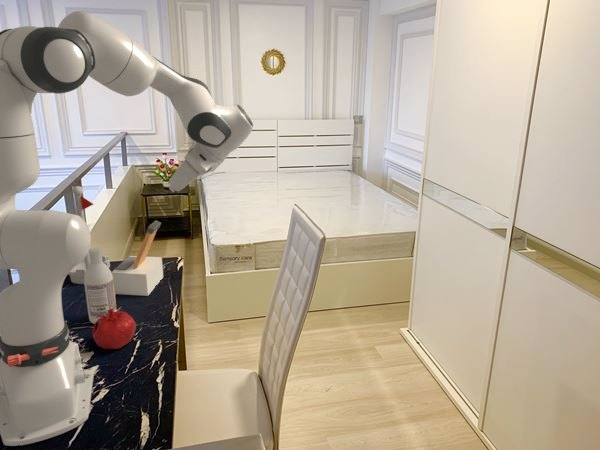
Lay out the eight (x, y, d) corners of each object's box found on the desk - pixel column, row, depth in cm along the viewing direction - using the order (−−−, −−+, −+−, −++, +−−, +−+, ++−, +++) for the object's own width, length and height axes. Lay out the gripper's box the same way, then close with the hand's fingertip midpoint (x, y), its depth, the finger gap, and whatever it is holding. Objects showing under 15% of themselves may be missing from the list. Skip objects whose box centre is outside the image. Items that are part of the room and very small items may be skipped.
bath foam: (120, 319, 122) (113, 250, 116) (93, 328, 118) (84, 256, 112) (112, 309, 127) (104, 242, 121) (86, 317, 123) (76, 248, 117)
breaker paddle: (145, 260, 143) (161, 222, 138) (137, 268, 137) (153, 229, 132) (140, 257, 142) (155, 220, 138) (132, 266, 136) (147, 226, 132)
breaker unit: (163, 277, 148) (161, 255, 145) (148, 295, 135) (145, 272, 133) (131, 275, 148) (129, 254, 146) (113, 293, 136) (111, 270, 134)
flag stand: (57, 281, 143) (42, 189, 133) (87, 266, 155) (75, 179, 145) (91, 288, 139) (79, 193, 130) (119, 271, 151) (109, 183, 142)
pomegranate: (144, 335, 116) (142, 302, 113) (119, 357, 107) (116, 322, 104) (111, 328, 118) (108, 295, 115) (84, 348, 109) (80, 314, 106)
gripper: (206, 139, 131) (175, 171, 135) (186, 155, 112) (150, 191, 116) (222, 155, 132) (191, 186, 136) (204, 173, 113) (169, 208, 117)
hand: (172, 188), depth 126 cm, fingers closed
